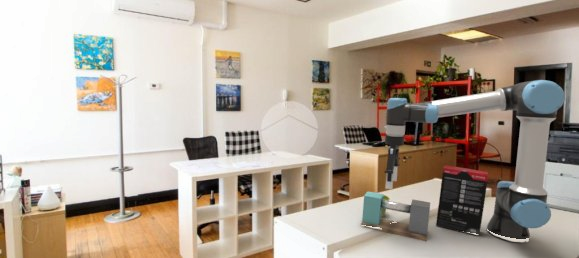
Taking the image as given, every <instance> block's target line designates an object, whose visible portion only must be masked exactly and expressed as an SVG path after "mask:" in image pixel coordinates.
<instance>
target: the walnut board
mask: <svg viewBox="0 0 579 258" xmlns="http://www.w3.org/2000/svg"><path fill="white" fill-rule="evenodd" d="M394 221H395V220H390V219H385V218H381V221H380V223H379V225H374V224H369V223H365V222H362V221H361V223H360V226H361V225H366V226H372V227H380V228H382V231H381V232H384V233H389V234H392V235H398V236H402V237H405V238H410V239H411V238H412V239H414V240H420V241H424V242H427V239H428V235H427V236H424V235H420V234H415V233H411V232H408V230H409V223H404V222H400V221H396V222H397V223H392V222H394ZM390 223H391V224H390Z"/></svg>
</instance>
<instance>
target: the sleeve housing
mask: <svg viewBox="0 0 579 258" xmlns="http://www.w3.org/2000/svg"><path fill="white" fill-rule="evenodd" d="M411 200H412V201H411V204H410V205H411V210H410V213H409V220H408V224H409V230H408V232H411V233H415V234H420V235H424V236H427V237H428V228H429V218H430V211H431V210H430V209H431V202H430V201H424V200H419V199H413V198H412V199H411Z"/></svg>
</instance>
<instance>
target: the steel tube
mask: <svg viewBox="0 0 579 258" xmlns="http://www.w3.org/2000/svg"><path fill="white" fill-rule="evenodd" d="M381 208H384V209H386V210H390V211H393V212H394V211H396V212H401V213H405V214H410V210H411V204H407V203H401V202H396V201H390V200H389V201H386V200H381Z"/></svg>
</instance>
